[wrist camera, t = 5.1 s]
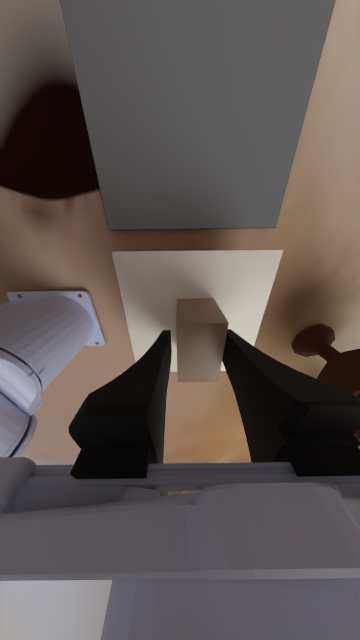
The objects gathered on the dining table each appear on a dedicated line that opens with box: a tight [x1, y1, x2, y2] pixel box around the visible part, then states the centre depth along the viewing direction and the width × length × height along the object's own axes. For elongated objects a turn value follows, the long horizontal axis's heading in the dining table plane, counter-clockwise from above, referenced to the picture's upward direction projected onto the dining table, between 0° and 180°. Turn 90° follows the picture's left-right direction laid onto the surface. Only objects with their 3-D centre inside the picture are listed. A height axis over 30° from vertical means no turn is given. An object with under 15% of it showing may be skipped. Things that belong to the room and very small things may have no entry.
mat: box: [60, 0, 335, 230], centre depth 11 cm, size 16×12×1 cm
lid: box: [112, 249, 283, 382], centre depth 11 cm, size 12×12×5 cm
